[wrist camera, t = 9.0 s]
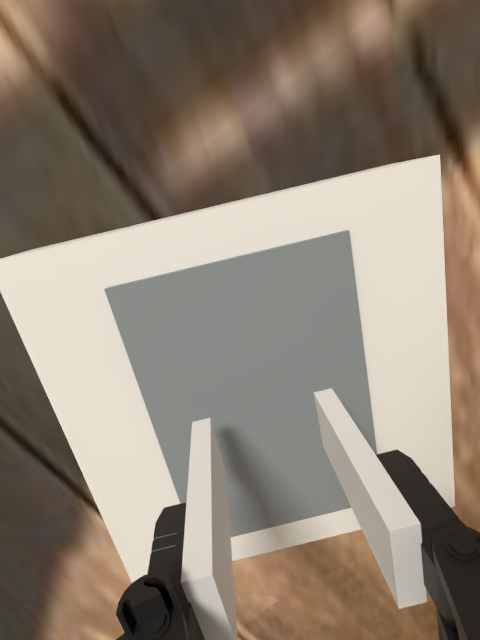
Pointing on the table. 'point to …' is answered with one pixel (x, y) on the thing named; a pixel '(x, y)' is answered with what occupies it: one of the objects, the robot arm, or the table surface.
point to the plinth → (247, 350)
